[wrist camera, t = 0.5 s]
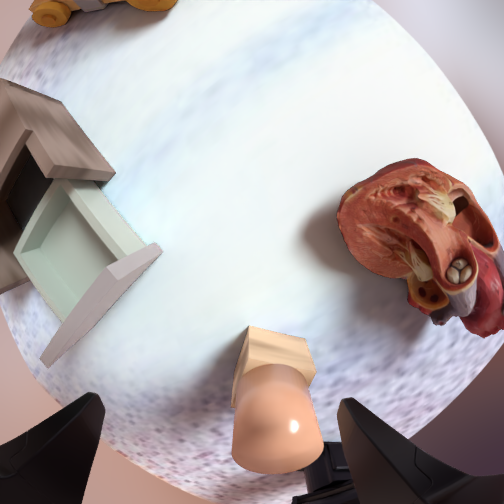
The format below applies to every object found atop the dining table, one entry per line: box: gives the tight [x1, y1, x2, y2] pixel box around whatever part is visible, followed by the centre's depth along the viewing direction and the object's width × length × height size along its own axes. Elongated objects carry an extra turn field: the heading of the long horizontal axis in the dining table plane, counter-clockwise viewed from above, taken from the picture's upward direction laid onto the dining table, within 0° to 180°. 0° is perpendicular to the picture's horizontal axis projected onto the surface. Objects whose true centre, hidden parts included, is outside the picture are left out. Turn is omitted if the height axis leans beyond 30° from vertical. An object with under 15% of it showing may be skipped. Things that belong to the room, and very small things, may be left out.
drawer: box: [13, 178, 163, 368], centre depth 17 cm, size 10×11×8 cm
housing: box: [0, 78, 116, 294], centre depth 16 cm, size 11×14×9 cm
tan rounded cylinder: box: [232, 364, 324, 474], centre depth 15 cm, size 5×5×6 cm
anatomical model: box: [337, 158, 504, 338], centre depth 16 cm, size 11×13×15 cm
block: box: [231, 326, 317, 408], centre depth 20 cm, size 5×5×5 cm
